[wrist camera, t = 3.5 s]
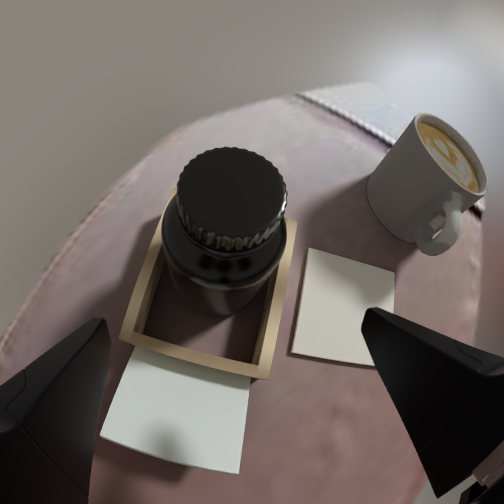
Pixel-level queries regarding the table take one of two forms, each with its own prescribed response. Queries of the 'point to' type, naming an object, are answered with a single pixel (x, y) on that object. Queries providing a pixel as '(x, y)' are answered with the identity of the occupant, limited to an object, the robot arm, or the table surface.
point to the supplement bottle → (224, 229)
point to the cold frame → (134, 336)
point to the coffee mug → (427, 184)
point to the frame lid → (179, 412)
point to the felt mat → (339, 306)
